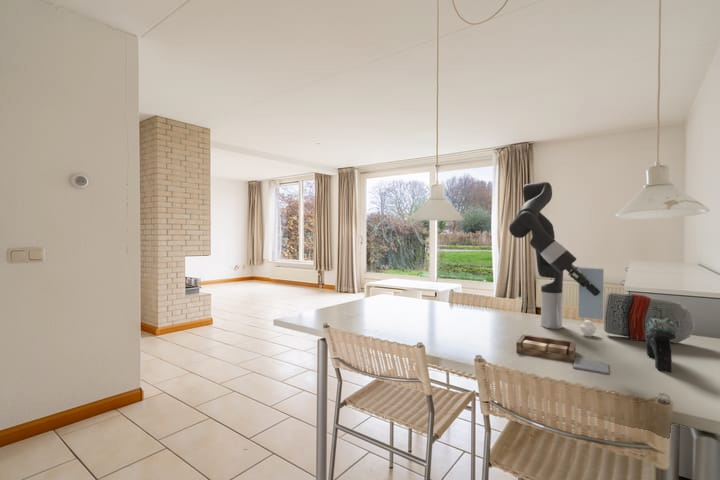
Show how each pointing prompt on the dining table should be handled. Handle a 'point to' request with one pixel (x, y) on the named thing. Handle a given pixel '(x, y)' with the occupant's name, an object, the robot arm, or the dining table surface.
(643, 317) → the grey red knit hat
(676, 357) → the dining table surface
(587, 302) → the pale blue tall prism
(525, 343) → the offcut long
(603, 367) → the mat
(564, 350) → the offcut short
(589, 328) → the white rounded lump
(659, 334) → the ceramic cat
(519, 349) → the rack
